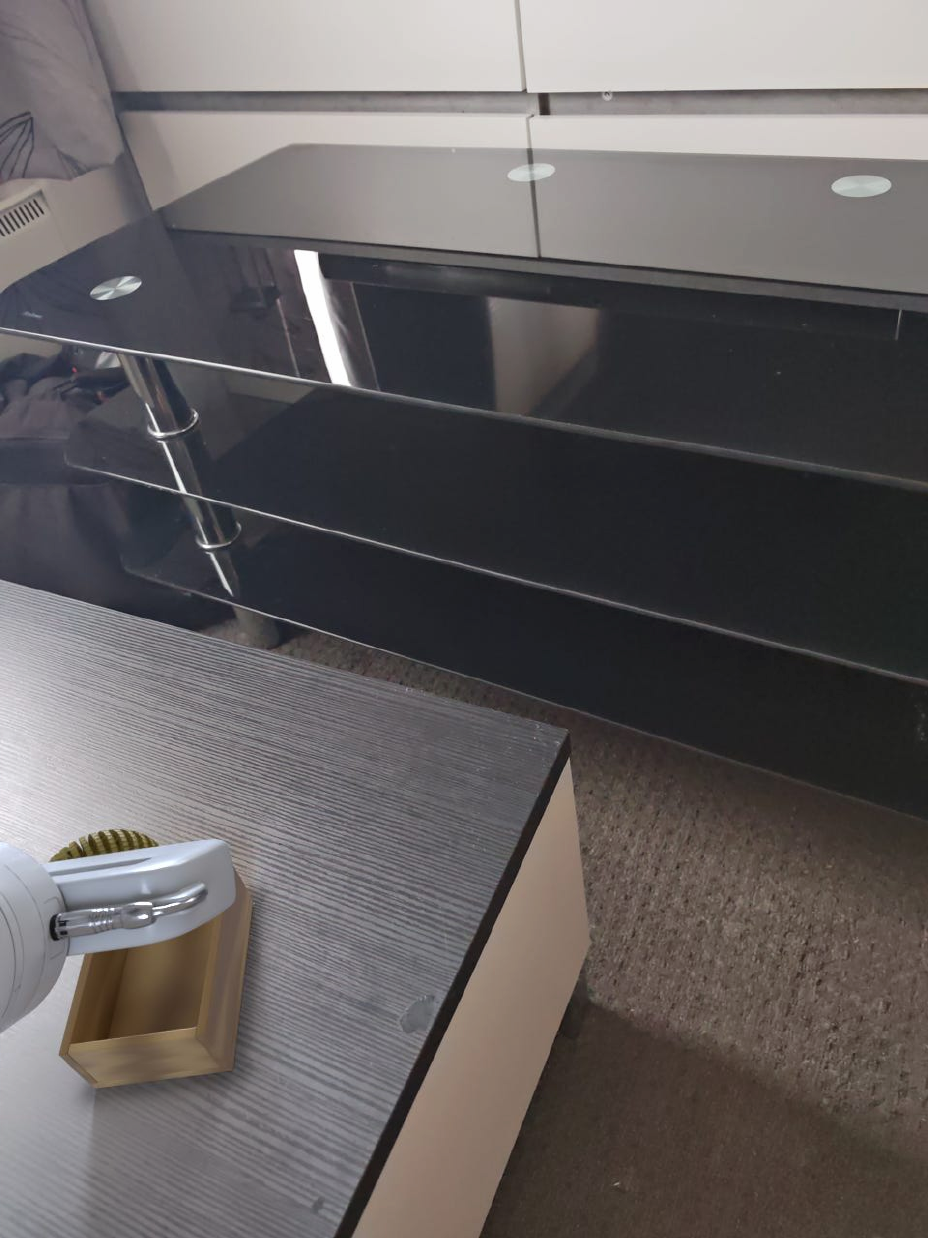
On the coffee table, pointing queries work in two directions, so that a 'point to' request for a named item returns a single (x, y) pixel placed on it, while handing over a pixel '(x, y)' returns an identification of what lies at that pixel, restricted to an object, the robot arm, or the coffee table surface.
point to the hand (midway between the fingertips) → (98, 873)
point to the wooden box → (161, 1004)
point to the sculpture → (105, 844)
